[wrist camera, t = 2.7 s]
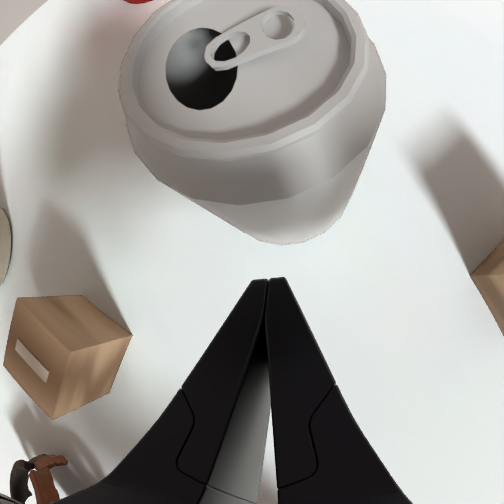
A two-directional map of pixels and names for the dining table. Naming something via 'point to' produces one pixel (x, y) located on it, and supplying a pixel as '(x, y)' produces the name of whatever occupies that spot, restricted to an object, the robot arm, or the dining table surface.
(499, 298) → the marked block 1
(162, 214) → the dining table surface
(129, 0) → the canned food
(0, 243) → the travel mug
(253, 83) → the can
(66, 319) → the marked block 2
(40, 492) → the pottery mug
